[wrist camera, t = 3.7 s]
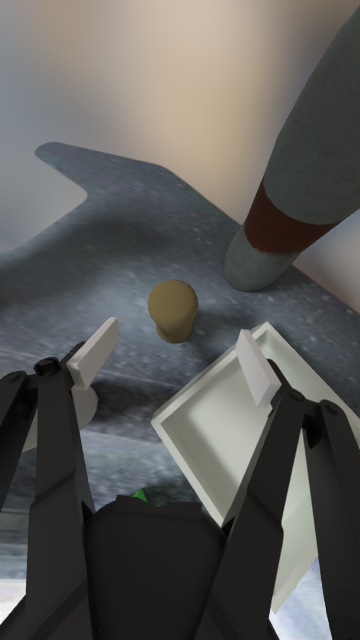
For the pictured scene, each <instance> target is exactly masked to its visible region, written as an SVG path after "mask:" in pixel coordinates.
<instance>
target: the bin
mask: <svg viewBox="0 0 360 640" xmlns="http://www.w3.org/2000/svg"><path fill="white" fill-rule="evenodd" d="M250 333H251V335H252V336H253V338H254V340H255V341H256V343H257V344H258V346H259V348H260V349H261V351H262V353H263V354H264V356H265V358H267V359H272V360H273V361H274V362H275V363H276V364H277V366H278V367H279V369H280V370H281V372H282V373H283V375H284V376H285V378H286V379H287V381H288V382H289V384H290V385H291V387H292V388H294V389H296V390H298V391H299V392H301V393H302V394H303V395H304V396H305V398H306V399H309V400H312V401H315V402H317V403H319V402H320V401H321V400H322V399H326V400H330V401H332V402H334V403H335V404H337V405H338V406H339V407H341V408H342V410H343V411H344V412H345V414H346V416H347V418H348V421H349V424H350V426H351V429H352V431H353V434H354V436H355V439H356V441H357V444H358V447H359V449H360V419H359V418H358V417H357V415H356V414H355V413H354V412H353V411H352V410H351V409H350V408H349V407H348V406H347V405H346V404H345V403H344V402H343V401H342V400H341V399H340V398H339V397H338V395H337V394H336V393H335V392H334V391H333V390H332V389H331V388H330V387H329V386H328V385H327V384H326V383H325V382H324V381H323V380H322V379H321V378H320V377H319V375H318V374H317V373H316V372H315V371H314V370H313V369H312V368H311V367H310V366H309V365H308V364H307V363H306V362H305V361H304V360H303V359H302V358H301V357H300V355H299V354H298V353H297V352H296V351H295V350H294V349H293V348H292V347H291V346H290V345H289V344H288V343H287V342H286V341H285V340H284V339H283V338H282V337H281V335H280V334H279V333H278V332H277V331H276V330H275V329H274V328H273V327H272V326H271V325H270V324H269V323H268V322H265V323H263V324H260V325H258V326H256V327H253V328H252V329H251V330H250ZM236 344H237V342H236V343H235V344H233V345H232V346H231V347H230V348H229V349H228V350H226V351H225V352H224V353H223V354H222V355H221V356H219V357H218V358H217V359H216V360H215V361H214V362H212V363H211V364H210V365H209V366H208V367H206V368H205V369H204V370H203V371H202V372H201V373H199V374H198V375H197V376H196V377H195V378H194V379H192V380H191V381H190V382H189V383H188V384H187V385H185V386H184V387H183V388H182V389H181V390H180V391H178V392H177V393H176V394H175V395H174V396H173V397H171V398H170V399H169V400H168V401H167V402H165V403H164V404H163V405H162V406H161V407H160V408H158V409H157V410H156V411H155V413H154V415H153V417H152V420H151V422H150V423H151V424H152V426H153V427H154V429H155V430H156V432H157V433H158V435H159V436H160V438H161V439H162V441H163V443H164V444H165V446H166V447H167V449H168V450H169V452H170V453H171V455H172V456H173V458H174V459H175V461H176V463H177V464H178V466H179V467H180V469H181V470H182V472H183V473H184V475H185V476H186V478H187V479H188V481H189V483H190V484H191V486H192V487H193V489H194V490H195V492H196V493H197V495H198V496H199V498H200V499H201V501H202V502H203V504H204V506H205V507H206V509H207V510H208V512H209V513H210V515H211V516H212V518H213V519H214V520H215V521H216V522H217V523H218V525H219V526H220V527H221V525H222V523H223V521H224V519H225V516H226V514H227V512H228V510H229V509H230V507H231V505H232V503H233V500H234V498H235V495H236V493H237V491H238V488H239V486H240V484H241V481H242V479H243V476H244V474H245V472H246V469H247V467H248V464H249V462H250V460H251V457H252V455H253V452H254V450H255V448H256V445H257V443H258V441H259V438H260V436H261V433H262V431H263V429H264V426H265V424H266V421H267V419H268V417H267V416H268V415H269V413H270V412H271V410H272V406H271V404H269V406H268V407H267V408H262V407H257V406H256V403H255V401H254V398H253V395H252V393H251V390H250V388H249V385H248V383H247V380H246V377H245V375H244V372H243V370H242V367H241V364H240V362H239V359H238V357H237V354H236V352H235V347H236ZM282 527H283V530H284V539H283V546H282V551H281V556H280V561H279V566H278V572H277V577H276V582H275V587H274V592H273V598H272V603H271V609H272V610H273V612H274V613H275V614H276V613H277V611H278V610H279V609H280V607H281V606H282V604H283V603H284V602H285V600H286V599H287V598H288V596H289V595H290V594H291V592H292V591H293V590H294V588H295V587H296V585H297V584H298V583H299V581H300V580H301V579H302V577H303V576H304V575H305V573H306V572H307V571H308V569H309V568H310V566H311V565H312V564H313V562H314V561H315V560H316V558H317V557H318V550H317V542H316V534H315V526H314V518H313V511H312V503H311V495H310V487H309V479H308V472H307V464H306V456H305V448H304V440H303V433H302V428H301V432H300V437H299V442H298V446H297V451H296V456H295V461H294V465H293V470H292V475H291V479H290V484H289V489H288V494H287V498H286V503H285V508H284V512H283V517H282Z"/></svg>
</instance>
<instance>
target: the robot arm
mask: <svg viewBox="0 0 360 640" xmlns="http://www.w3.org/2000/svg"><path fill="white" fill-rule="evenodd" d="M119 340H120V334H119V327H118V321H117V318H114V317H110V318H109V319H108V320H107V321H106V322H105V323H104V324H103V325H102V326H101V327H100V328H99V329H98V330H97V331H96V332H95V333H94V334H93V336H92V337H91V338H90V339H89V340H88V341H87V342H83V341H82V342H81V343H79V344H77V345H76V346H75V347H74V348H73V349H72V350H71V351H70V352H69V353H68V354H67V355H66V356H65V357H64V358H63V359H62V360H61V361H60V362H59V360H58V358H56V357H48V358H45V359H42V360H40V361H39V362H37V363H36V364H35V365H34V370H35V372H36V374H33V375H27V374H26V372H25V371H15V372H12V373H10V374H7V375H6V376H4V377H3V378H2V379H1V380H0V512H1V509H2V507H3V504H4V501H5V498H6V495H7V492H8V490H9V487H10V484H11V481H12V478H13V475H14V473H15V470H16V467H17V464H18V461H19V458H20V456H21V453H22V450H23V447H24V444H25V441H26V439H27V436H28V433H29V430H30V427H31V424H32V422H33V419H34V416H35V413H36V410H37V407H38V417H37V467H36V497H35V500H34V501H33V503H32V504H31V507H30V512H29V529H28V552H27V576H26V595H25V596H24V597H23V598H22V600H21V601H20V602H19V603H18V604H17V606H16V607H15V608H14V609H13V610H12V612H11V613H10V614H9V615H8V616H7V618H6V619H5V620H4V621H3V622H2V624H1V625H0V640H280V639H279V638H278V636H277V634H276V632H275V630H274V628H273V626H272V624H271V622H270V620H269V613H270V608H271V603H272V598H273V592H274V587H275V582H276V577H277V572H278V566H279V561H280V556H281V551H282V546H283V539H284V530H283V527H282V517H283V512H284V508H285V503H286V498H287V494H288V489H289V484H290V479H291V475H292V470H293V465H294V461H295V456H296V451H297V446H298V442H299V437H300V432H301V428H302V433H303V440H304V448H305V456H306V464H307V472H308V479H309V487H310V495H311V503H312V511H313V518H314V526H315V534H316V542H317V550H318V557H319V565H320V573H321V581H322V589H323V595H324V601H325V607H326V613H327V618H328V622H329V627H330V631H331V635H332V640H360V449H359V447H358V444H357V441H356V439H355V436H354V434H353V431H352V429H351V426H350V424H349V421H348V418H347V416H346V414H345V412H344V411H343V410H342V408H341V407H339V406H338V405H337V404H335V403H334V402H332V401H330V400H326V399H322V400H321V401H320V402H319V403H317V402H315V401H312V400H309V399H306V398H305V396H304V395H303V394H302V393H301V392H299V391H298V390H296V389H294V388H292V387H291V385H290V384H289V382H288V381H287V379H286V378H285V376H284V375H283V373H282V372H281V370H280V369H279V367H278V366H277V364H276V363H275V362H274V361H273V360H272V359H267V358H265V356H264V354H263V353H262V351H261V349H260V348H259V346H258V344H257V343H256V341H255V340H254V338H253V336H252V335H251V333H250V331H249V330H244V329H241V332H240V335H239V338H238V341H237V344H236V347H235V352H236V354H237V357H238V359H239V362H240V364H241V367H242V370H243V372H244V375H245V377H246V380H247V383H248V385H249V388H250V390H251V393H252V395H253V398H254V401H255V403H256V406H257V407H262V408H267V407H268V406H269V404H271V406H272V410H271V412H270V413H269V415H268V416H267V417H268V419H267V421H266V424H265V426H264V429H263V431H262V433H261V436H260V438H259V441H258V443H257V445H256V448H255V450H254V452H253V455H252V457H251V460H250V462H249V464H248V467H247V469H246V472H245V474H244V476H243V479H242V481H241V484H240V486H239V488H238V491H237V493H236V495H235V498H234V500H233V503H232V505H231V507H230V509H229V510H228V512H227V514H226V516H225V519H224V521H223V523H222V525H221V527H220V526H219V525H218V523H217V522H216V521H215V520H214V519H213V518H212V517H211V516H210V515H209V514H208V513H207V512H205V511H203V510H202V509H201V504H200V503H191V502H181V501H180V502H177V503H174V504H170V505H167V506H164V507H160V508H157V507H155V506H153V505H151V504H149V503H148V502H146V501H144V500H142V499H140V498H138V497H132V496H123V495H117V497H116V501H113V502H111V503H108V504H106V505H105V506H103V507H102V508H100V509H99V510H98V511H97V512H95V507H94V502H93V498H92V495H91V492H90V488H89V483H88V477H87V472H86V466H85V460H84V455H83V449H82V444H81V438H80V432H79V427H78V421H77V416H76V410H75V404H74V399H73V393H72V390H71V389H72V387H73V386H74V385H75V387H76V389H77V390H87V389H88V387H89V386H90V384H91V383H92V381H93V380H94V378H95V377H96V375H97V373H98V372H99V370H100V369H101V367H102V366H103V364H104V363H105V361H106V360H107V358H108V357H109V355H110V354H111V352H112V351H113V349H114V347H115V346H116V344H117V343H118V341H119Z"/></svg>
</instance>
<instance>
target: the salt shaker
mask: <svg viewBox="0 0 360 640" xmlns="http://www.w3.org/2000/svg"><path fill="white" fill-rule="evenodd" d="M71 390H72V393H73V399H74V404H75V410H76V416H77V421H78V427H79V431H80V430H81V429H82V428H84V427H85V426H86V425H87V424H89V423H90V422H91V420H92V418H93V416H94V414H95V412H96V409H97V402H98V399H99V398H98V396H97V395H96V393H95V391H94V390H93V388H92V387H91V386H89V387H88V389H87V390H77V389H76V387H75V385H74V386H73V387H72V389H71ZM37 417H38V407H37V410H36V413H35V416H34V419H33V422H32V424H31V427H30V430H29V433H28V436H27V439H26V441H25V444H24V447H23V450H22V452H25V451H27V450H30V449H32V448H35V447H37Z"/></svg>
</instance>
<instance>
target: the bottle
mask: <svg viewBox="0 0 360 640" xmlns="http://www.w3.org/2000/svg"><path fill="white" fill-rule="evenodd" d="M358 209H360V6H359V7H358V8H357V10H356V11H355V12H354V13H353V14H352V16H350V18H349V19H348V20H347V21H346V22H345V23H344V25H343V26H342V27H341V28H340V30H339V32H338V33H337V35H336V36H335V38H334V39H333V41H332V42H331V44H330V46H329V48H328V49H327V50H326V52H325V53H324V55H323V57H322V58H321V60H320V62H319V63H318V64H317V66H316V68H315V69H314V71H313V72H312V74H311V76H310V78H309V79H308V81H307V83H306V85H305V87H304V88H303V90H302V92H301V94H300V96H299V98H298V100H297V102H296V103H295V105H294V107H293V109H292V111H291V113H290V115H289V116H288V118H287V120H286V122H285V124H284V126H283V128H282V129H281V131H280V133H279V135H278V138H277V140H276V143H275V146H274V148H273V151H272V154H271V157H270V159H269V162H268V165H267V168H266V171H265V173H264V176H263V178H262V181H261V183H260V186H259V188H258V191H257V193H256V196H255V198H254V201H253V203H252V206H251V209H250V211H249V214H248V216H247V218H246V220H245V221H244V223H243V224H242V226H241V227H240V229H239V230H238V232H237V234H236V235H235V237H234V238H233V240H232V242H231V243H230V245H229V247H228V249H227V253H226V256H225V260H224V276H225V278H226V280H227V282H228V283H229V284H230V285H231V286H232V287H233V288H235V289H237V290H239V291H244V292H251V291H256V290H259V289H261V288H263V287H265V286H267V285H269V284H270V283H272V282H274V281H275V280H277V279H278V278H279V277H280V276H281V275H282V274H283V272H284V271H285V270H286V269H287V268H288V267H289V266H290V265H291V264H292V263H293V261H294V260H295V259H296V258H297V257H298V256H299V254H300V253H301V252H302V251H304V250H305V249H306V248H308V247H309V246H310V245H311V244H313V243H314V242H316V241H317V240H318V239H319V238H321V237H322V236H323V235H325V234H326V233H327V232H329V231H330V230H331V229H332V228H334V227H335V226H336V225H338V224H339V223H341V222H342V221H343V220H344V219H346V218H347V217H349V216H350V215H351V214H353V213H354V212H355V211H357V210H358Z"/></svg>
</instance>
